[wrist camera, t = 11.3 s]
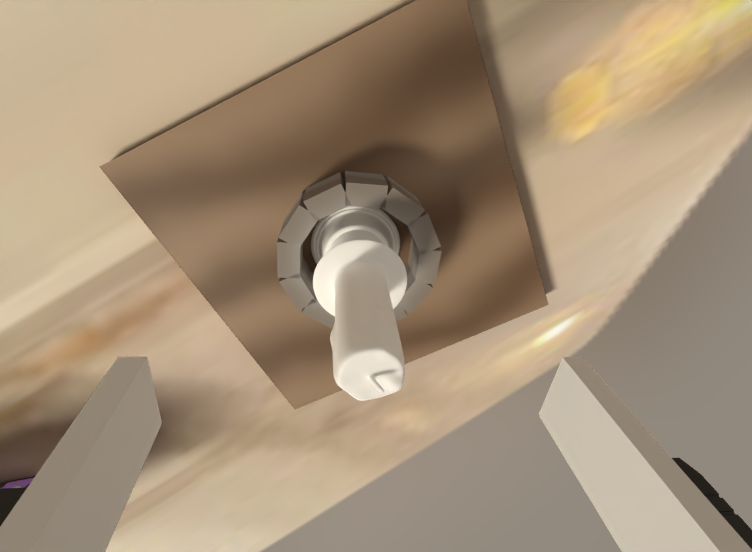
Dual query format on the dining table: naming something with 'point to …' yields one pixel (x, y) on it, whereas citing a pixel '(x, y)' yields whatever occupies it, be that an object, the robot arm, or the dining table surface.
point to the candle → (361, 298)
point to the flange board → (340, 128)
